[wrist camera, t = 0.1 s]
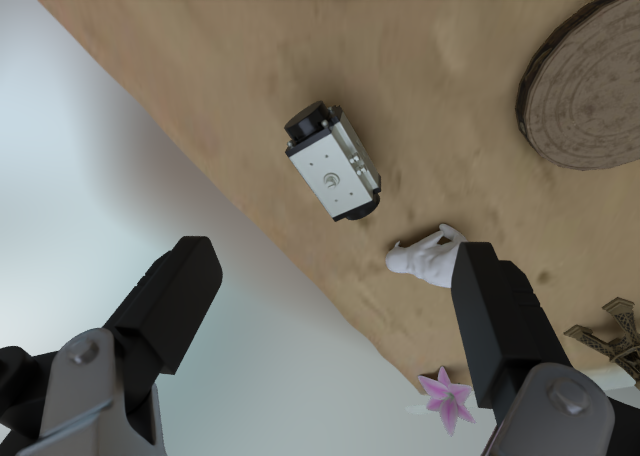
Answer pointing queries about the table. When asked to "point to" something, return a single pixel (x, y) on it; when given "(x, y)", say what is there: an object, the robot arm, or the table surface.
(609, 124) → the wood log slice
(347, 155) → the pneumatic valve
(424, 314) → the table surface
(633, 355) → the eiffel tower
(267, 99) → the table surface
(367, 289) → the table surface
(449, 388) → the lily
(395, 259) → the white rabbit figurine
